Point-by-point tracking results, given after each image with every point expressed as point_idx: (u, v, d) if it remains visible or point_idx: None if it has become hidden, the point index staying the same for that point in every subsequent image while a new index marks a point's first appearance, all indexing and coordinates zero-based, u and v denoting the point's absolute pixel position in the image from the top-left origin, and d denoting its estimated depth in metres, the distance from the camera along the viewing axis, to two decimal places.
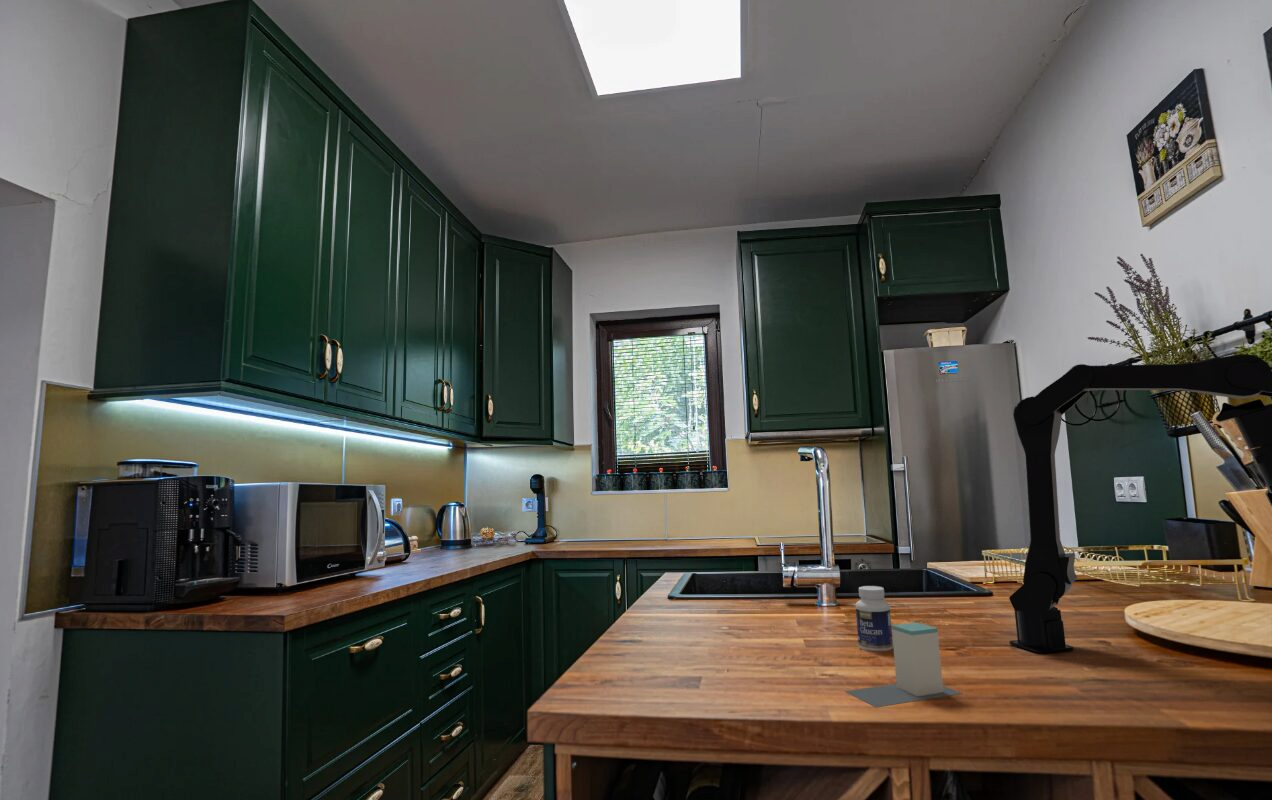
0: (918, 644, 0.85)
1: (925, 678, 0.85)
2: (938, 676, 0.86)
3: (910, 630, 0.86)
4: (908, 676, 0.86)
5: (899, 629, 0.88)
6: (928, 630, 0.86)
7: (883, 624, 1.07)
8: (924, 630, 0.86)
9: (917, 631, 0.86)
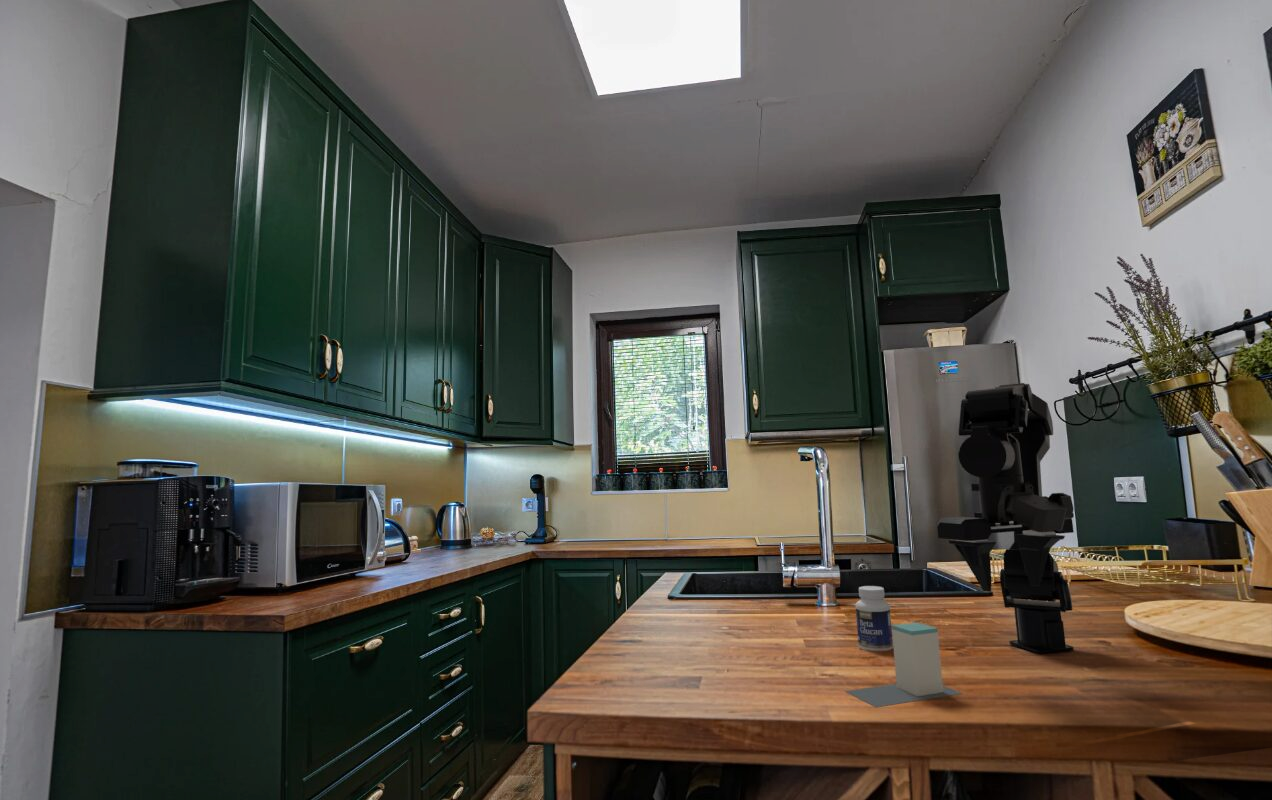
0: (918, 644, 0.85)
1: (925, 678, 0.85)
2: (938, 676, 0.86)
3: (910, 630, 0.86)
4: (908, 676, 0.86)
5: (899, 629, 0.88)
6: (928, 630, 0.86)
7: (883, 624, 1.07)
8: (924, 630, 0.86)
9: (917, 631, 0.86)
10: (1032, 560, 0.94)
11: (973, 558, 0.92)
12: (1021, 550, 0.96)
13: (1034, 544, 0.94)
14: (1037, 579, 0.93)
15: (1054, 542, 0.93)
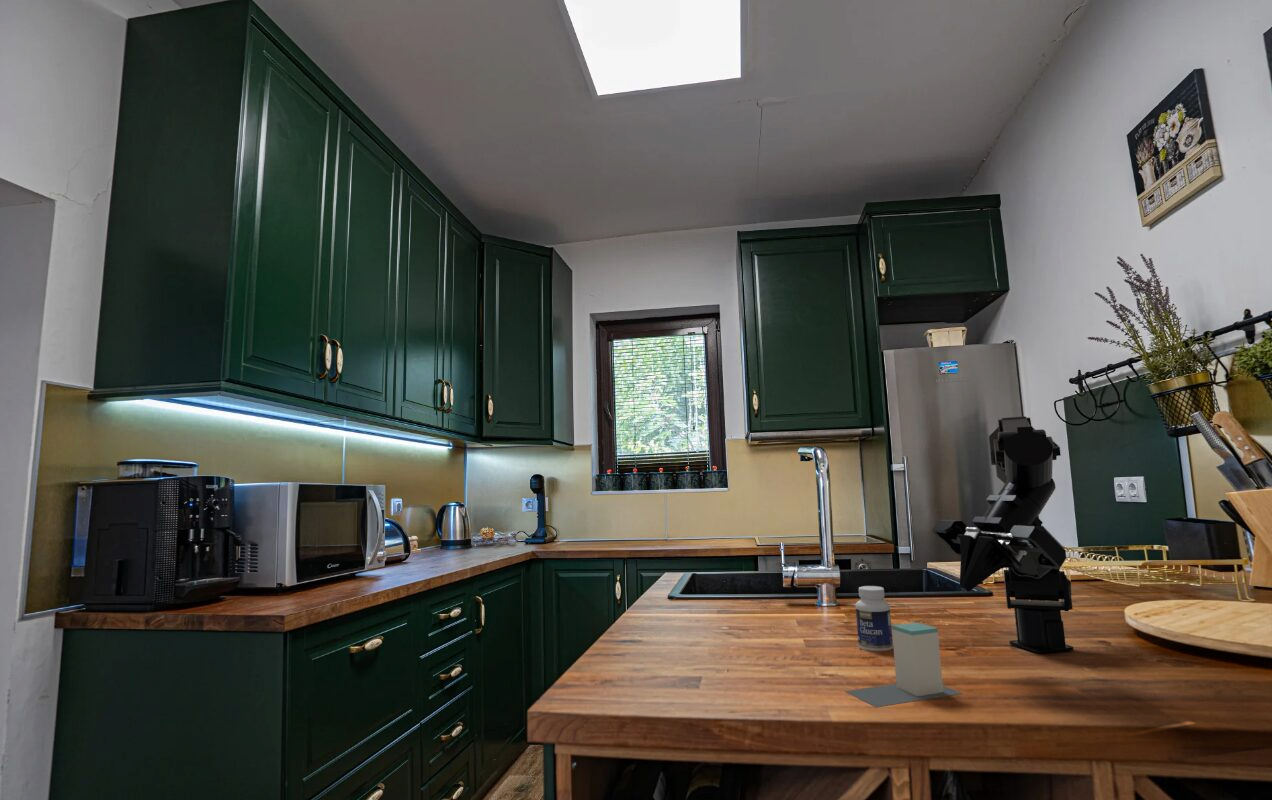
0: (918, 644, 0.85)
1: (925, 678, 0.85)
2: (938, 676, 0.86)
3: (910, 630, 0.86)
4: (908, 676, 0.86)
5: (899, 629, 0.88)
6: (928, 630, 0.86)
7: (883, 624, 1.07)
8: (924, 630, 0.86)
9: (917, 631, 0.86)
10: None
11: (985, 562, 0.91)
12: (969, 552, 0.92)
13: None
14: None
15: None
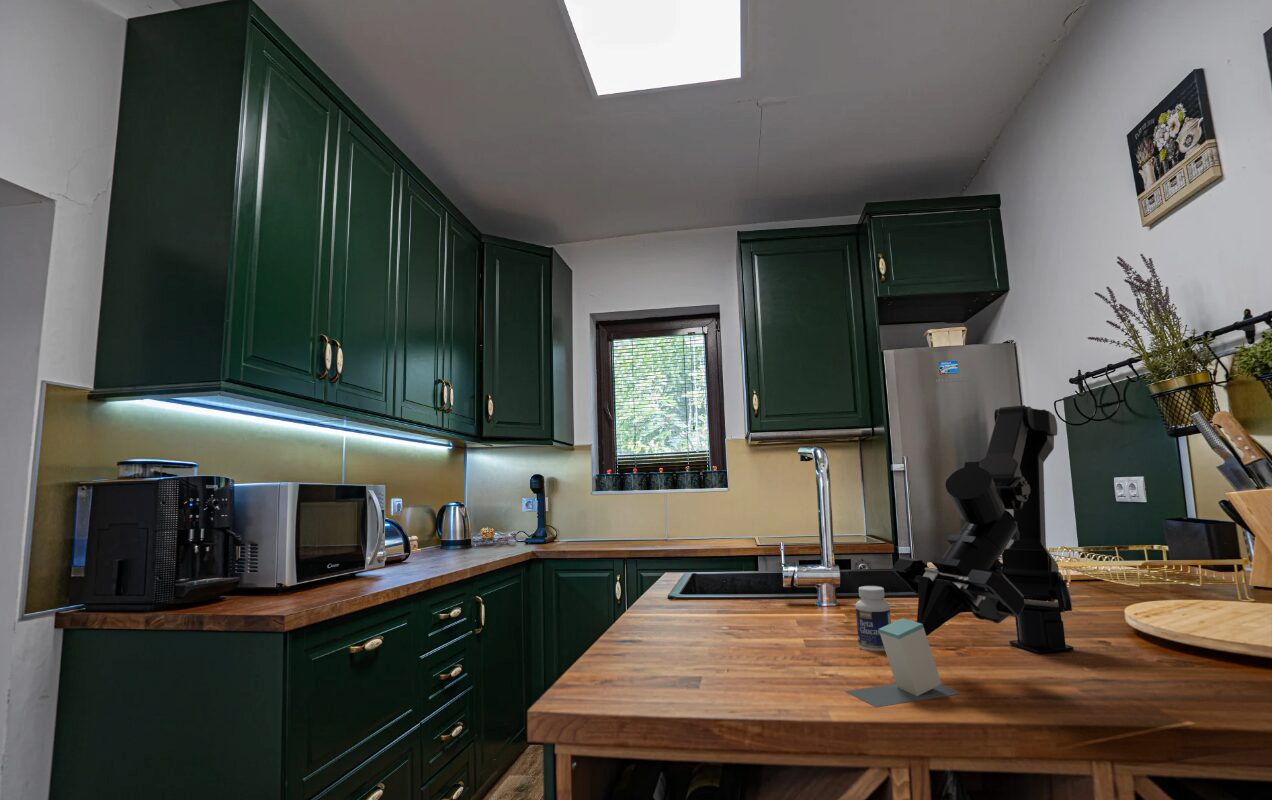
0: (907, 646, 0.85)
1: (921, 676, 0.85)
2: (933, 670, 0.86)
3: (896, 633, 0.85)
4: (905, 677, 0.86)
5: (886, 633, 0.87)
6: (914, 629, 0.86)
7: (883, 624, 1.07)
8: (910, 630, 0.85)
9: (903, 633, 0.85)
10: None
11: (942, 606, 0.87)
12: (927, 595, 0.89)
13: None
14: None
15: None
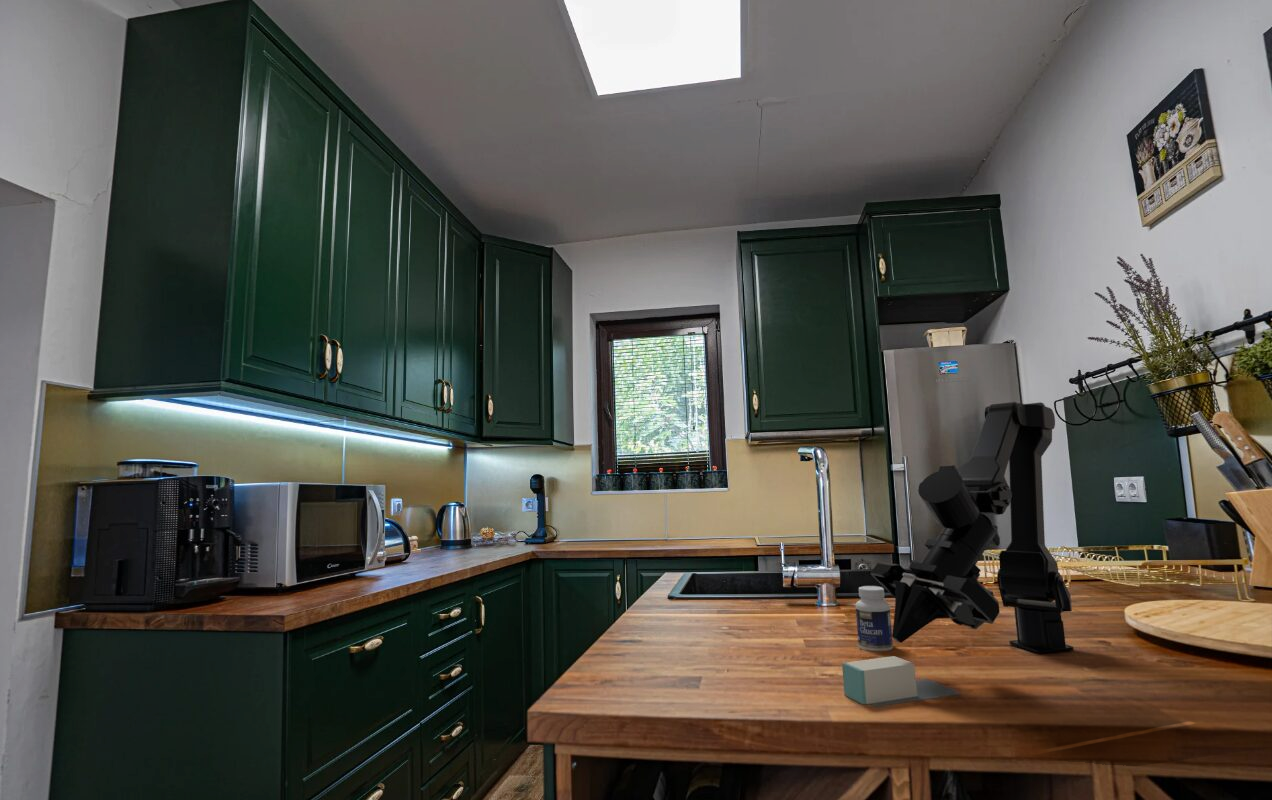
0: (874, 695, 0.83)
1: (902, 686, 0.84)
2: (901, 669, 0.84)
3: (860, 701, 0.83)
4: None
5: (853, 698, 0.85)
6: (862, 682, 0.83)
7: (883, 624, 1.07)
8: (862, 687, 0.83)
9: (862, 696, 0.82)
10: None
11: (918, 612, 0.87)
12: (903, 601, 0.88)
13: None
14: None
15: None
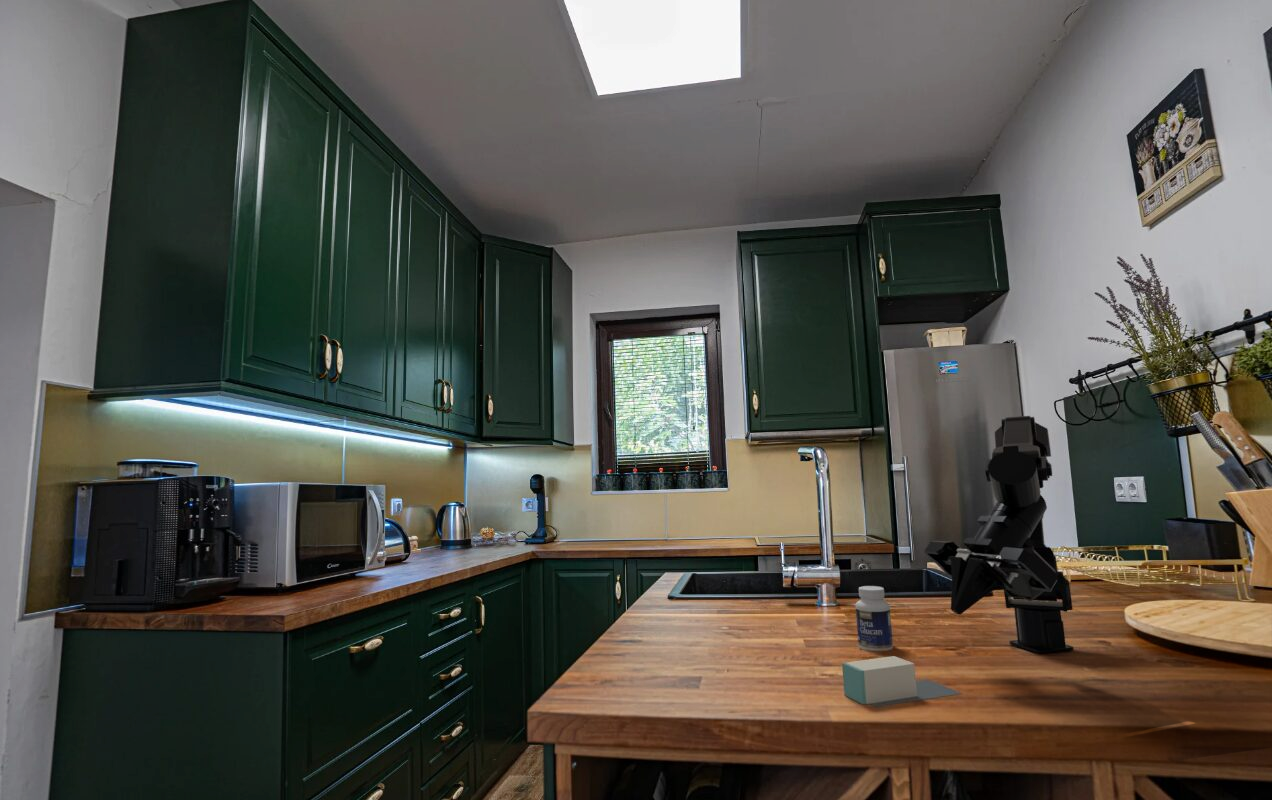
0: (874, 695, 0.83)
1: (902, 686, 0.84)
2: (901, 669, 0.84)
3: (860, 701, 0.83)
4: None
5: (853, 698, 0.85)
6: (862, 682, 0.83)
7: (883, 624, 1.07)
8: (862, 687, 0.83)
9: (862, 696, 0.82)
10: None
11: (976, 584, 0.90)
12: (960, 575, 0.92)
13: None
14: None
15: None
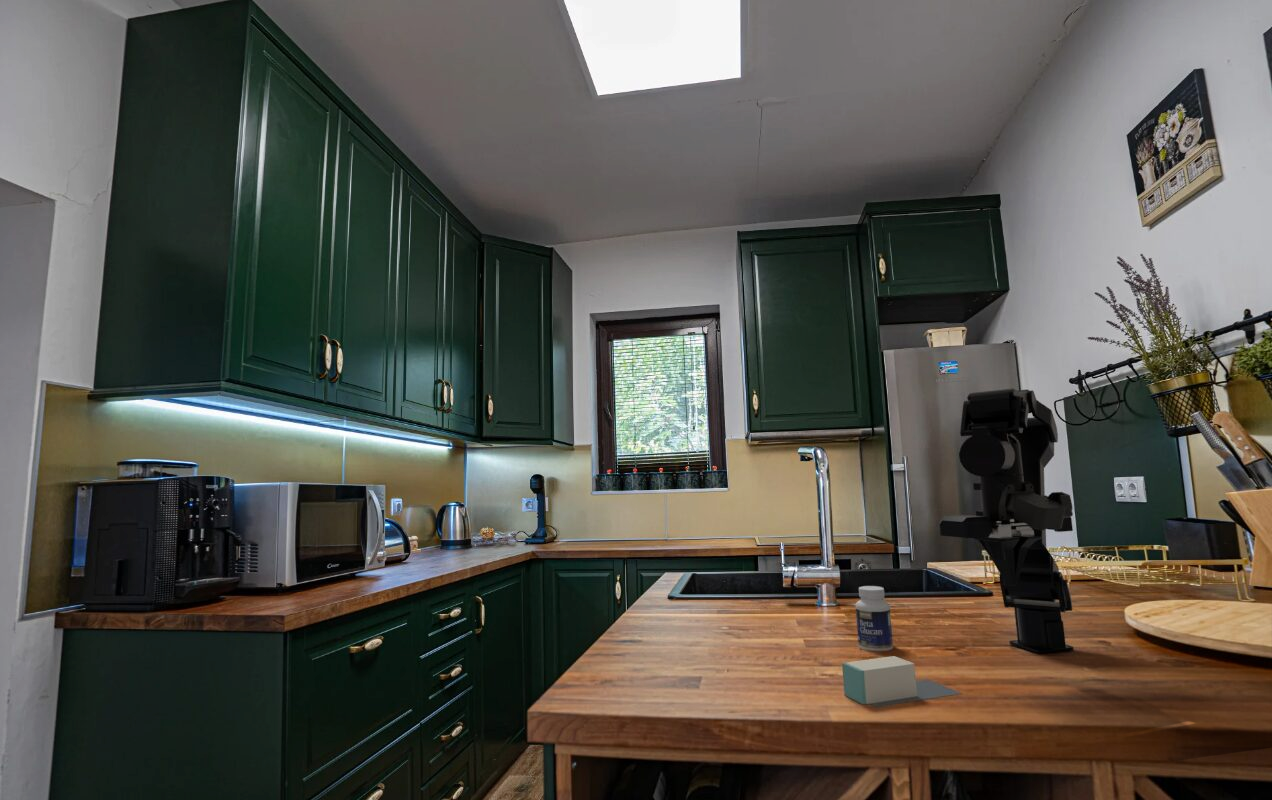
0: (874, 695, 0.83)
1: (902, 686, 0.84)
2: (901, 669, 0.84)
3: (860, 701, 0.83)
4: None
5: (853, 698, 0.85)
6: (862, 682, 0.83)
7: (883, 624, 1.07)
8: (862, 687, 0.83)
9: (862, 696, 0.82)
10: None
11: (997, 553, 0.96)
12: None
13: None
14: (1015, 578, 0.94)
15: (1032, 542, 0.94)
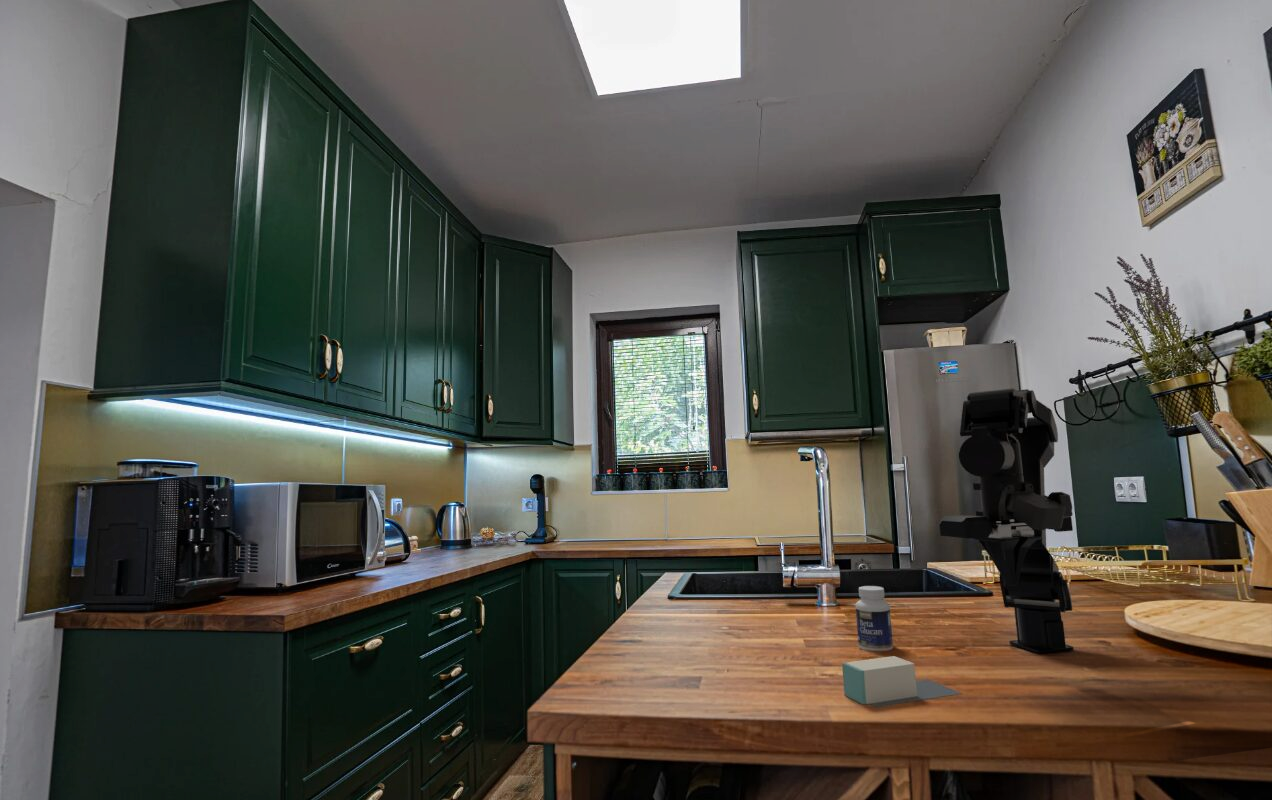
0: (874, 695, 0.83)
1: (902, 686, 0.84)
2: (901, 669, 0.84)
3: (860, 701, 0.83)
4: None
5: (853, 698, 0.85)
6: (862, 682, 0.83)
7: (883, 624, 1.07)
8: (862, 687, 0.83)
9: (862, 696, 0.82)
10: None
11: (997, 553, 0.96)
12: None
13: None
14: (1015, 578, 0.94)
15: (1032, 542, 0.94)
